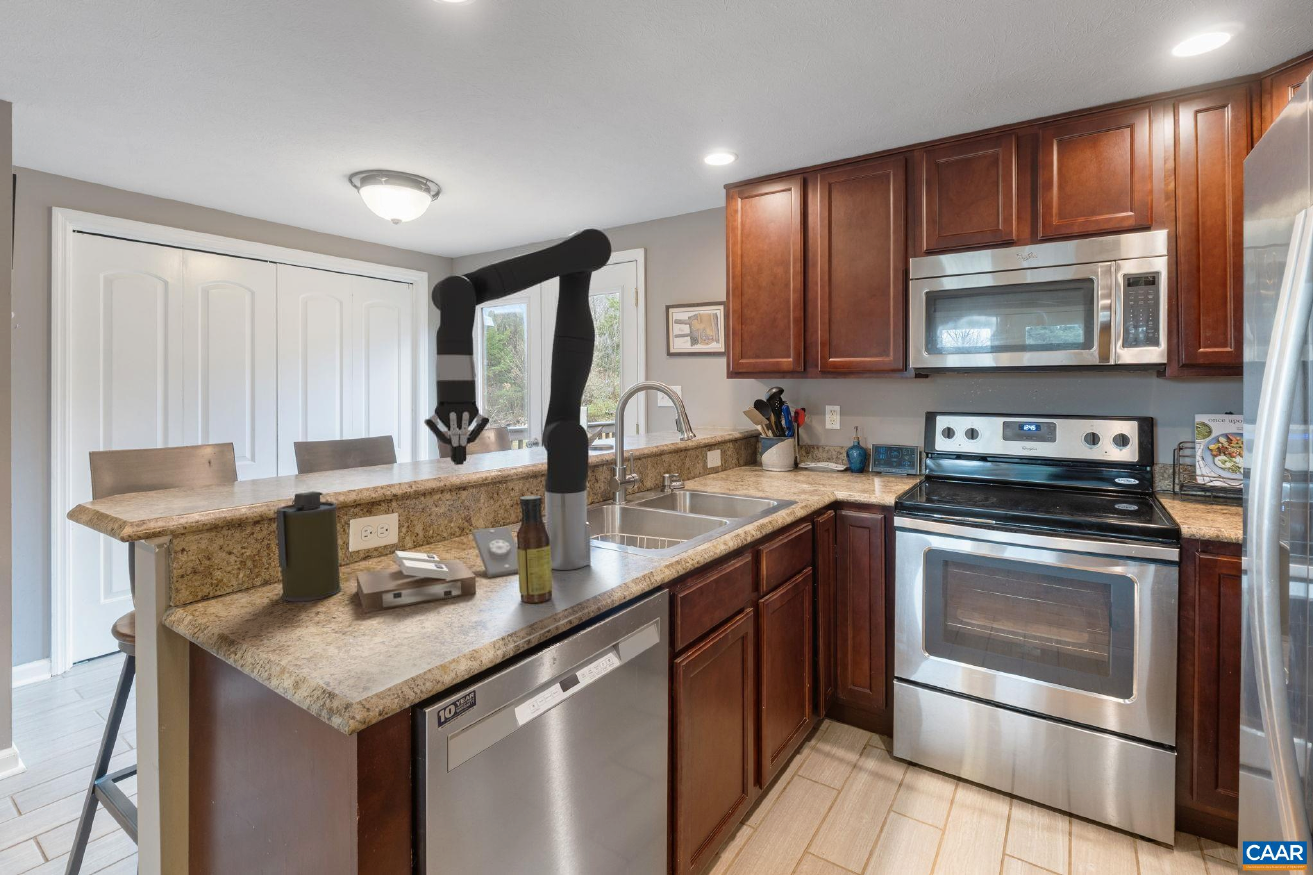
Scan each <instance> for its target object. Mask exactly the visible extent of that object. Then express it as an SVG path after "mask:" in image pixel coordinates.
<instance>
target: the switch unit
mask: <svg viewBox="0 0 1313 875" xmlns="http://www.w3.org/2000/svg"><path fill="white" fill-rule="evenodd" d="M439 564H442V565H444V566H445V567H446V568H447V569H448V571H449V573H448V577H447V579H441V578H432V577H423V576H414V575H405V574H403V572H402V570H401V569H400V566H399V567H395V568H394V567H393V568H386V569H379V570H373V571H367V572H366V571H365V572H359V573H356V574H355V575H356V591H357V594H358V597H359V600H360V602H361V606H362V607H363V611H364V613H370V612H371V613H372V612H377V611H383V610H388V609H394V608H399V607H405V606H410V605H416V604H423V603H427V602H433V601H439V600H446V599H451V598H457V597H464V596H469V595H474V594H475V595H476V594H477V586H476V585H477V584H476V583H477V582H476V580H477V579H476V578H477V577H476V575H475V574H474V573H473V572H472V571H471V570H470V569H469V568H468V567H467V566H466V564H464V563H463V562H462V561H461V560H460V559H458V558H457V559H450V560H449V559H448V560H442V561H440V563H439Z"/></svg>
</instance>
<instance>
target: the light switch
mask: <svg viewBox="0 0 1313 875" xmlns="http://www.w3.org/2000/svg"><path fill="white" fill-rule="evenodd" d="M471 535H472V538H473V541H474V544H475V546H476V548H477V551H478V554H479V557H480V559H481V562H482V564H483V566H484V567H483V568H484V569H485V572H486V576H487V578H495V577H500V576H506V575H507V576H508V575H513V574H518V556H517V547H518V546H517V541H516V540H515V538H514V536H513V534H512V531H511V529H510V526H498V527H492V528H489V527H488V528H483V529H481V528H480V529H474V530H472V533H471Z"/></svg>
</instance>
